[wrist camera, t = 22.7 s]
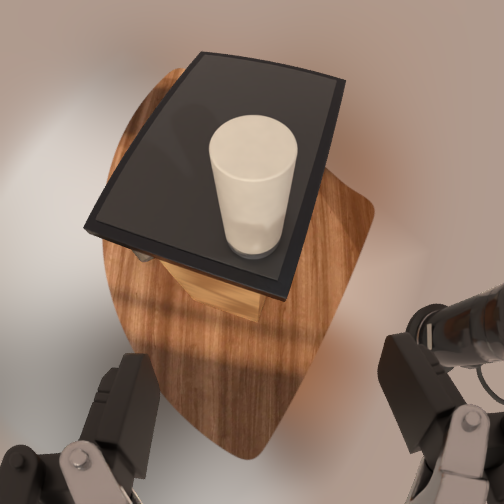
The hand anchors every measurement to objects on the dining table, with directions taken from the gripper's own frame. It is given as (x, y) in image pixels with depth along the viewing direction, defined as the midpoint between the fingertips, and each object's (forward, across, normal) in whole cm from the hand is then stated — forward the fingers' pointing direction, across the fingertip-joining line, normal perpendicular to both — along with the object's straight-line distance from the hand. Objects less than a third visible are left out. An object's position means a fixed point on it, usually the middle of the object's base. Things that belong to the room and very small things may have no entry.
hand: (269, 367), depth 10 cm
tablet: (+16, +1, -6) cm, 17 cm away
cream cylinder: (+10, 0, -1) cm, 10 cm away
